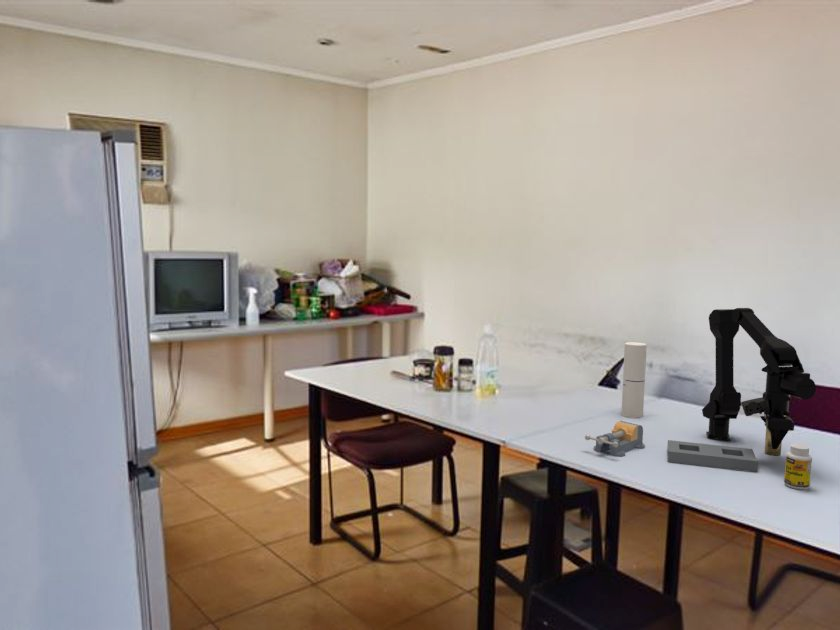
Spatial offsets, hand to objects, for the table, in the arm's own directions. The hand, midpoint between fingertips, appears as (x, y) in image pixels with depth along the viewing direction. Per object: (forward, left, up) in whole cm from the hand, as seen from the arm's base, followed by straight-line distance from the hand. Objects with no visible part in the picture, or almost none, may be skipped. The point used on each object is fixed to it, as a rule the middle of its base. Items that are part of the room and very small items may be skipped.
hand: (773, 446), depth 184 cm
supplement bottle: (+18, +3, -5) cm, 19 cm away
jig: (+5, -16, -4) cm, 17 cm away
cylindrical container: (-37, -38, -5) cm, 53 cm away
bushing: (0, 0, -2) cm, 2 cm away
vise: (+4, -41, -5) cm, 41 cm away
